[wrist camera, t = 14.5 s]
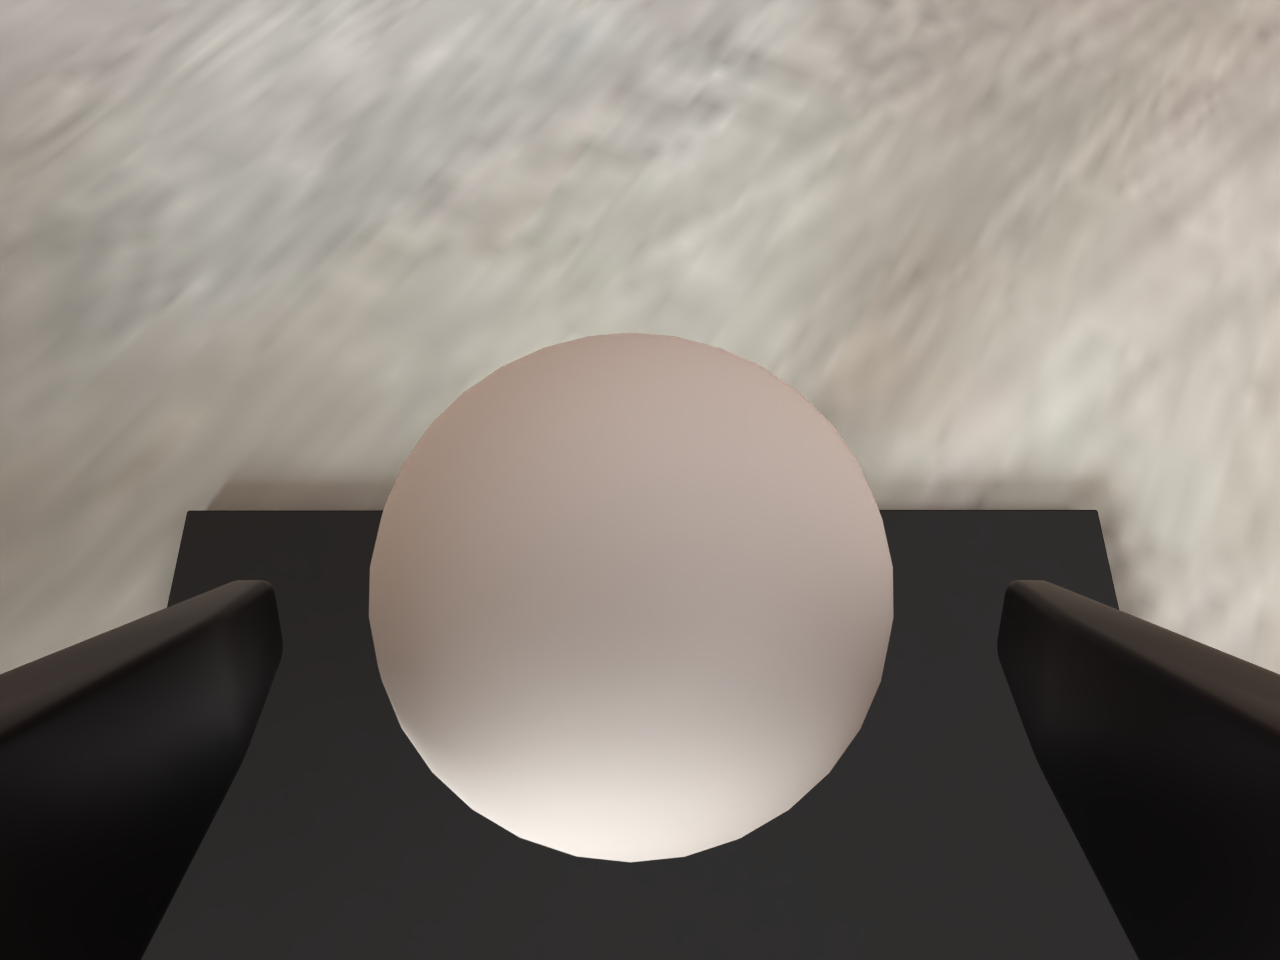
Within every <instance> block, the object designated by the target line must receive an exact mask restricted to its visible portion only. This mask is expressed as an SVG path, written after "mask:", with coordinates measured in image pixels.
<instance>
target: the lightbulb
mask: <svg viewBox="0 0 1280 960" xmlns="http://www.w3.org/2000/svg"><path fill="white" fill-rule="evenodd" d="M369 621H370V626H371V631H372V637H373V642H374V647H375V653H376V658H377V664H378V668H379V672H380V676H381V679H382V682H383V685H384V687H385V689H386V692H387V694H388V697H389V699H390V701H391V704H392V706H393V709H394V711H395V713H396V716H397V718H398V721H399V723H400V725H401V728H402V730H403V731H404V732H405V734H406V735H407V737H408V738H409V740H410V741H411V742H412V744H413V745H414V747H415V748H416V750H417V751H418V753H419V754H420V755H421V757H422V758H423V760H424V761H425V763H426V764H427V766H428V767H429V768H430V770H431V771H432V772H433V773H434V774H435V775H436V776H437V777H438V778H439V779H440V780H441V781H442V782H443V783H444V784H445V785H446V786H448V787H449V788H450V789H451V790H452V791H453V792H454V793H455V794H456V795H457V796H458V797H459V798H460V799H462V800H463V801H464V802H465V803H466V804H467V805H468V806H469V807H470V808H471V809H472V810H474V811H476V812H477V813H479V814H481V815H483V816H484V817H486V818H488V819H489V820H491V821H493V822H494V823H496V824H498V825H499V826H501V827H503V828H504V829H506V830H508V831H510V832H511V833H513V834H515V835H516V836H518V837H520V838H523V839H526V840H529V841H532V842H535V843H538V844H541V845H544V846H547V847H550V848H553V849H556V850H559V851H562V852H565V853H568V854H571V855H574V856H577V857H586V858H595V859H604V860H613V861H623V862H639V861H649V860H658V859H668V858H677V857H685V856H688V855H691V854H694V853H698V852H701V851H704V850H707V849H710V848H713V847H716V846H719V845H722V844H725V843H728V842H731V841H734V840H737V839H739V838H742V837H743V836H745V835H747V834H748V833H750V832H752V831H754V830H755V829H757V828H759V827H760V826H762V825H764V824H765V823H767V822H769V821H771V820H772V819H774V818H776V817H777V816H779V815H781V814H783V813H784V812H786V811H788V810H789V809H790V808H791V807H793V806H794V805H795V804H796V803H797V802H798V801H799V800H800V799H801V798H802V797H803V796H805V795H806V794H807V793H808V792H809V791H810V790H811V789H812V788H813V787H814V786H815V785H817V784H818V783H819V782H820V781H821V780H822V779H823V778H824V777H825V776H826V775H827V774H829V773H830V771H831V770H832V768H833V767H834V766H835V764H836V763H837V761H838V760H839V758H840V757H841V756H842V754H843V753H844V751H845V750H846V749H847V747H848V746H849V744H850V743H851V742H852V740H853V739H854V737H855V736H856V734H857V733H858V732H859V730H860V729H861V726H862V724H863V722H864V719H865V717H866V715H867V712H868V710H869V708H870V705H871V703H872V701H873V698H874V696H875V694H876V691H877V689H878V687H879V684H880V682H881V678H882V673H883V668H884V663H885V658H886V653H887V648H888V643H889V638H890V633H891V627H892V622H893V566H892V561H891V557H890V552H889V547H888V543H887V538H886V534H885V529H884V525H883V520H882V517H881V514H880V512H879V509H878V506H877V504H876V502H875V499H874V497H873V495H872V492H871V490H870V488H869V486H868V483H867V481H866V479H865V476H864V474H863V472H862V470H861V467H860V465H859V463H858V461H857V460H856V458H855V457H854V456H853V454H852V453H851V451H850V450H849V448H848V447H847V445H846V444H845V443H844V441H843V440H842V438H841V437H840V435H839V434H838V432H837V431H836V430H835V428H834V427H833V425H832V424H831V423H830V422H829V421H828V420H827V419H826V418H825V417H824V416H823V415H822V414H821V413H820V412H819V411H818V410H817V409H816V408H815V407H814V406H813V405H812V404H811V403H810V402H809V401H808V400H807V399H806V398H805V397H804V396H803V395H802V394H801V393H799V392H798V391H797V390H795V389H794V388H792V387H791V386H789V385H788V384H786V383H785V382H783V381H782V380H780V379H779V378H777V377H776V376H774V375H773V374H772V373H770V372H769V371H767V370H766V369H764V368H763V367H761V366H759V365H756V364H754V363H752V362H750V361H748V360H745V359H743V358H741V357H739V356H736V355H734V354H732V353H730V352H728V351H725V350H723V349H721V348H717V347H713V346H709V345H706V344H702V343H698V342H694V341H690V340H686V339H682V338H678V337H674V336H663V335H651V334H639V333H623V334H612V335H600V336H589V337H585V338H581V339H577V340H573V341H569V342H565V343H561V344H557V345H554V346H550V347H546V348H543V349H541V350H538V351H536V352H534V353H532V354H529V355H527V356H525V357H523V358H521V359H518V360H516V361H514V362H512V363H509V364H507V365H505V366H503V367H501V368H499V369H498V370H496V371H495V372H493V373H492V374H490V375H489V376H487V377H486V378H485V379H483V380H482V381H480V382H479V383H477V384H476V385H474V386H473V387H471V388H470V389H468V390H467V391H465V392H464V393H463V394H462V395H461V396H460V397H459V398H458V399H457V400H456V401H455V402H454V403H452V404H451V405H450V406H449V407H448V408H447V409H446V410H445V411H444V412H443V413H442V414H441V415H440V416H439V417H438V418H437V419H436V420H435V421H434V422H433V423H432V424H431V425H430V426H429V428H428V429H427V431H426V432H425V434H424V435H423V436H422V438H421V439H420V441H419V442H418V444H417V445H416V446H415V448H414V449H413V451H412V452H411V453H410V455H409V456H408V458H407V459H406V461H405V462H404V464H403V466H402V468H401V471H400V473H399V475H398V477H397V479H396V482H395V484H394V486H393V488H392V491H391V493H390V495H389V497H388V499H387V502H386V504H385V507H384V510H383V514H382V517H381V521H380V525H379V530H378V534H377V538H376V543H375V547H374V551H373V556H372V560H371V564H370V586H369Z"/></svg>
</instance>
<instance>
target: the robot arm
mask: <svg viewBox="0 0 1280 960" xmlns="http://www.w3.org/2000/svg"><path fill="white" fill-rule="evenodd" d="M282 651H283V640H282V633H281V627H280V621H279V615H278V609H277V602H276V596H275V592H274V589H273V587H272V585H271V584H270V583H269V582H267V581H264V580H237V581H233V582H230V583H228V584H225V585H223V586H220V587H218V588H215V589H213V590H210V591H208V592H205V593H203V594H200V595H198V596H195V597H193V598H190V599H188V600H185V601H183V602H180V603H178V604H175V605H173V606H170V607H168V608H165V609H163V610H160V611H158V612H155V613H153V614H150V615H148V616H145V617H143V618H140V619H138V620H135V621H133V622H130V623H128V624H125V625H123V626H120V627H118V628H115V629H113V630H110V631H108V632H105V633H103V634H100V635H98V636H95V637H93V638H90V639H88V640H85V641H83V642H80V643H78V644H75V645H73V646H70V647H68V648H65V649H63V650H60V651H58V652H55V653H53V654H50V655H48V656H45V657H43V658H40V659H38V660H36V661H33V662H31V663H28V664H26V665H23V666H21V667H18V668H16V669H13V670H11V671H8V672H6V673H3V674H1V675H0V960H141V959H142V957H143V955H144V953H145V951H146V949H147V947H148V945H149V943H150V941H151V940H152V938H153V936H154V934H155V932H156V930H157V928H158V926H159V924H160V922H161V920H162V918H163V916H164V914H165V912H166V910H167V908H168V906H169V905H170V903H171V901H172V899H173V897H174V895H175V893H176V891H177V889H178V887H179V885H180V883H181V881H182V879H183V877H184V875H185V873H186V871H187V870H188V868H189V866H190V864H191V862H192V860H193V858H194V856H195V854H196V852H197V850H198V848H199V846H200V844H201V842H202V840H203V838H204V836H205V835H206V833H207V831H208V829H209V827H210V825H211V823H212V821H213V819H214V817H215V815H216V813H217V811H218V809H219V807H220V805H221V803H222V801H223V800H224V798H225V796H226V794H227V792H228V790H229V788H230V786H231V784H232V782H233V780H234V778H235V776H236V774H237V772H238V770H239V768H240V766H241V764H242V762H243V759H244V757H245V754H246V752H247V750H248V747H249V745H250V742H251V739H252V737H253V734H254V731H255V728H256V726H257V723H258V720H259V718H260V715H261V712H262V710H263V707H264V704H265V701H266V699H267V696H268V693H269V691H270V688H271V685H272V683H273V680H274V677H275V674H276V672H277V669H278V666H279V664H280V661H281V657H282ZM997 651H998V657H999V661H1000V664H1001V666H1002V669H1003V672H1004V674H1005V677H1006V680H1007V683H1008V685H1009V688H1010V691H1011V693H1012V696H1013V699H1014V701H1015V704H1016V707H1017V710H1018V712H1019V715H1020V718H1021V720H1022V723H1023V726H1024V728H1025V731H1026V734H1027V737H1028V739H1029V742H1030V745H1031V747H1032V750H1033V752H1034V754H1035V757H1036V759H1037V762H1038V764H1039V766H1040V768H1041V770H1042V772H1043V774H1044V776H1045V778H1046V780H1047V782H1048V784H1049V786H1050V788H1051V790H1052V792H1053V794H1054V796H1055V798H1056V800H1057V801H1058V803H1059V805H1060V807H1061V809H1062V811H1063V813H1064V815H1065V817H1066V819H1067V821H1068V823H1069V825H1070V827H1071V829H1072V831H1073V833H1074V835H1075V836H1076V838H1077V840H1078V842H1079V844H1080V846H1081V848H1082V850H1083V852H1084V854H1085V856H1086V858H1087V860H1088V862H1089V864H1090V866H1091V868H1092V870H1093V871H1094V873H1095V875H1096V877H1097V879H1098V881H1099V883H1100V885H1101V887H1102V889H1103V891H1104V893H1105V895H1106V897H1107V899H1108V901H1109V903H1110V905H1111V906H1112V908H1113V910H1114V912H1115V914H1116V916H1117V918H1118V920H1119V922H1120V924H1121V926H1122V928H1123V930H1124V932H1125V934H1126V936H1127V938H1128V940H1129V941H1130V943H1131V945H1132V947H1133V949H1134V951H1135V953H1136V955H1137V957H1138V959H1139V960H1280V675H1279V674H1277V673H1274V672H1272V671H1269V670H1267V669H1264V668H1262V667H1259V666H1257V665H1254V664H1252V663H1249V662H1247V661H1244V660H1242V659H1240V658H1237V657H1235V656H1232V655H1230V654H1227V653H1225V652H1222V651H1220V650H1217V649H1215V648H1212V647H1210V646H1207V645H1205V644H1202V643H1200V642H1197V641H1195V640H1192V639H1190V638H1187V637H1185V636H1182V635H1180V634H1177V633H1175V632H1172V631H1170V630H1167V629H1165V628H1162V627H1160V626H1157V625H1155V624H1152V623H1150V622H1147V621H1145V620H1142V619H1140V618H1137V617H1135V616H1132V615H1130V614H1127V613H1125V612H1122V611H1120V610H1117V609H1115V608H1112V607H1110V606H1107V605H1105V604H1102V603H1100V602H1097V601H1095V600H1092V599H1090V598H1087V597H1085V596H1082V595H1080V594H1077V593H1075V592H1072V591H1070V590H1067V589H1065V588H1062V587H1060V586H1057V585H1055V584H1052V583H1050V582H1047V581H1043V580H1016V581H1013V582H1011V583H1010V584H1009V585H1008V587H1007V589H1006V592H1005V596H1004V602H1003V609H1002V615H1001V621H1000V627H999V633H998V640H997Z"/></svg>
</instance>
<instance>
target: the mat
mask: <svg viewBox="0 0 1280 960" xmlns="http://www.w3.org/2000/svg"><path fill="white" fill-rule="evenodd" d="M879 512H880V514H881V517H882V520H883V525H884V529H885V534H886V538H887V543H888V547H889V552H890V557H891V561H892V566H893V622H892V627H891V633H890V638H889V643H888V648H887V653H886V658H885V663H884V668H883V673H882V678H881V682H880V684H879V687H878V689H877V691H876V694H875V696H874V698H873V701H872V703H871V705H870V708H869V710H868V712H867V715H866V717H865V719H864V722H863V724H862V726H861V729H860V730H859V732H858V733H857V734H856V736H855V737H854V739H853V740H852V742H851V743H850V744H849V746H848V747H847V749H846V750H845V751H844V753H843V754H842V756H841V757H840V758H839V760H838V761H837V763H836V764H835V766H834V767H833V768H832V770H831V771H830V773H829V774H827V775H826V776H825V777H824V778H823V779H822V780H821V781H820V782H819V783H818V784H817V785H815V786H814V787H813V788H812V789H811V790H810V791H809V792H808V793H807V794H806V795H805V796H803V797H802V798H801V799H800V800H799V801H798V802H797V803H796V804H795V805H794V806H793V807H791V808H790V809H789V810H788V811H786V812H784V813H783V814H781V815H779V816H777V817H776V818H774V819H772V820H771V821H769V822H767V823H765V824H764V825H762V826H760V827H759V828H757V829H755V830H754V831H752V832H750V833H748V834H747V835H745V836H743V837H742V838H739V839H737V840H734V841H731V842H728V843H725V844H722V845H719V846H716V847H713V848H710V849H707V850H704V851H701V852H698V853H694V854H691V855H688V856H685V857H677V858H668V859H658V860H649V861H639V862H623V861H613V860H604V859H595V858H586V857H577V856H574V855H571V854H568V853H565V852H562V851H559V850H556V849H553V848H550V847H547V846H544V845H541V844H538V843H535V842H532V841H529V840H526V839H523V838H520V837H518V836H516V835H515V834H513V833H511V832H510V831H508V830H506V829H504V828H503V827H501V826H499V825H498V824H496V823H494V822H493V821H491V820H489V819H488V818H486V817H484V816H483V815H481V814H479V813H477V812H476V811H474V810H472V809H471V808H470V807H469V806H468V805H467V804H466V803H465V802H464V801H463V800H462V799H460V798H459V797H458V796H457V795H456V794H455V793H454V792H453V791H452V790H451V789H450V788H449V787H448V786H446V785H445V784H444V783H443V782H442V781H441V780H440V779H439V778H438V777H437V776H436V775H435V774H434V773H433V772H432V771H431V770H430V768H429V767H428V766H427V764H426V763H425V761H424V760H423V758H422V757H421V755H420V754H419V753H418V751H417V750H416V748H415V747H414V745H413V744H412V742H411V741H410V740H409V738H408V737H407V735H406V734H405V732H404V731H403V730H402V728H401V725H400V723H399V721H398V718H397V716H396V713H395V711H394V709H393V706H392V704H391V701H390V699H389V697H388V694H387V692H386V689H385V687H384V685H383V682H382V679H381V676H380V672H379V668H378V664H377V658H376V653H375V647H374V642H373V637H372V631H371V626H370V621H369V586H370V564H371V560H372V556H373V551H374V547H375V543H376V538H377V534H378V530H379V525H380V521H381V517H382V514H383V511H188V512H187V516H186V521H185V526H184V530H183V535H182V540H181V544H180V549H179V554H178V559H177V563H176V568H175V573H174V577H173V582H172V587H171V592H170V596H169V601H168V606H167V608H168V607H170V606H173V605H175V604H178V603H180V602H183V601H185V600H188V599H190V598H193V597H195V596H198V595H200V594H203V593H205V592H208V591H210V590H213V589H215V588H218V587H220V586H223V585H225V584H228V583H230V582H233V581H237V580H264V581H267V582H269V583H270V584H271V585H272V587H273V589H274V592H275V596H276V602H277V609H278V615H279V621H280V627H281V633H282V640H283V651H282V657H281V661H280V664H279V666H278V669H277V672H276V674H275V677H274V680H273V683H272V685H271V688H270V691H269V693H268V696H267V699H266V701H265V704H264V707H263V710H262V712H261V715H260V718H259V720H258V723H257V726H256V728H255V731H254V734H253V737H252V739H251V742H250V745H249V747H248V750H247V752H246V754H245V757H244V759H243V762H242V764H241V766H240V768H239V770H238V772H237V774H236V776H235V778H234V780H233V782H232V784H231V786H230V788H229V790H228V792H227V794H226V796H225V798H224V800H223V801H222V803H221V805H220V807H219V809H218V811H217V813H216V815H215V817H214V819H213V821H212V823H211V825H210V827H209V829H208V831H207V833H206V835H205V836H204V838H203V840H202V842H201V844H200V846H199V848H198V850H197V852H196V854H195V856H194V858H193V860H192V862H191V864H190V866H189V868H188V870H187V871H186V873H185V875H184V877H183V879H182V881H181V883H180V885H179V887H178V889H177V891H176V893H175V895H174V897H173V899H172V901H171V903H170V905H169V906H168V908H167V910H166V912H165V914H164V916H163V918H162V920H161V922H160V924H159V926H158V928H157V930H156V932H155V934H154V936H153V938H152V940H151V941H150V943H149V945H148V947H147V949H146V951H145V953H144V955H143V957H142V959H141V960H1139V959H1138V957H1137V955H1136V953H1135V951H1134V949H1133V947H1132V945H1131V943H1130V941H1129V940H1128V938H1127V936H1126V934H1125V932H1124V930H1123V928H1122V926H1121V924H1120V922H1119V920H1118V918H1117V916H1116V914H1115V912H1114V910H1113V908H1112V906H1111V905H1110V903H1109V901H1108V899H1107V897H1106V895H1105V893H1104V891H1103V889H1102V887H1101V885H1100V883H1099V881H1098V879H1097V877H1096V875H1095V873H1094V871H1093V870H1092V868H1091V866H1090V864H1089V862H1088V860H1087V858H1086V856H1085V854H1084V852H1083V850H1082V848H1081V846H1080V844H1079V842H1078V840H1077V838H1076V836H1075V835H1074V833H1073V831H1072V829H1071V827H1070V825H1069V823H1068V821H1067V819H1066V817H1065V815H1064V813H1063V811H1062V809H1061V807H1060V805H1059V803H1058V801H1057V800H1056V798H1055V796H1054V794H1053V792H1052V790H1051V788H1050V786H1049V784H1048V782H1047V780H1046V778H1045V776H1044V774H1043V772H1042V770H1041V768H1040V766H1039V764H1038V762H1037V759H1036V757H1035V754H1034V752H1033V750H1032V747H1031V745H1030V742H1029V739H1028V737H1027V734H1026V731H1025V728H1024V726H1023V723H1022V720H1021V718H1020V715H1019V712H1018V710H1017V707H1016V704H1015V701H1014V699H1013V696H1012V693H1011V691H1010V688H1009V685H1008V683H1007V680H1006V677H1005V674H1004V672H1003V669H1002V666H1001V664H1000V661H999V657H998V651H997V640H998V633H999V627H1000V621H1001V615H1002V609H1003V602H1004V596H1005V592H1006V589H1007V587H1008V585H1009V584H1010V583H1011V582H1013V581H1016V580H1043V581H1047V582H1050V583H1052V584H1055V585H1057V586H1060V587H1062V588H1065V589H1067V590H1070V591H1072V592H1075V593H1077V594H1080V595H1082V596H1085V597H1087V598H1090V599H1092V600H1095V601H1097V602H1100V603H1102V604H1105V605H1107V606H1110V607H1112V608H1115V609H1117V610H1119V608H1118V603H1117V598H1116V594H1115V589H1114V585H1113V580H1112V576H1111V571H1110V566H1109V562H1108V557H1107V553H1106V548H1105V544H1104V539H1103V534H1102V530H1101V525H1100V521H1099V516H1098V512H1097V510H879Z"/></svg>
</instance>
